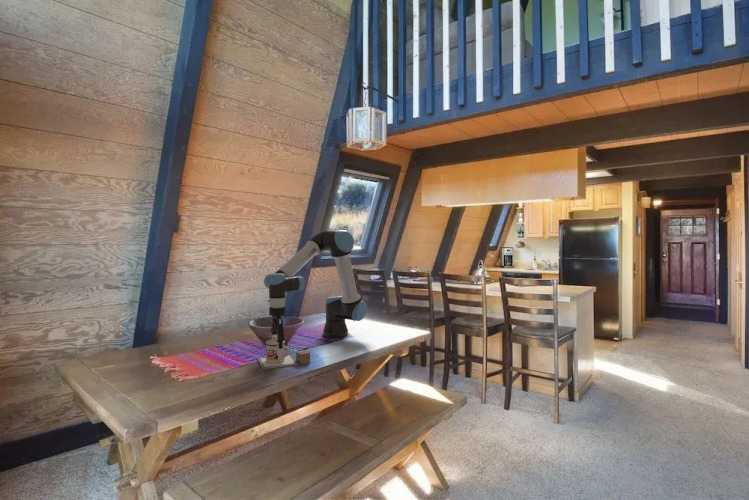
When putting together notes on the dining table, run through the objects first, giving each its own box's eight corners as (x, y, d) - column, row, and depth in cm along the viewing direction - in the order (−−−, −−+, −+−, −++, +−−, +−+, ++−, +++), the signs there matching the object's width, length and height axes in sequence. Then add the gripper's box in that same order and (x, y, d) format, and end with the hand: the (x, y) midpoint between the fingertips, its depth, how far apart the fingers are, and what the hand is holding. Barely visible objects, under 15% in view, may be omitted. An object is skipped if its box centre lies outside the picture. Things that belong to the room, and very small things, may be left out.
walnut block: (296, 362, 196) (296, 351, 196) (305, 360, 199) (305, 350, 199) (300, 364, 192) (300, 354, 192) (310, 363, 195) (310, 352, 195)
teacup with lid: (261, 362, 193) (261, 337, 193) (272, 357, 202) (272, 333, 201) (283, 365, 189) (283, 340, 188) (294, 359, 197) (294, 335, 197)
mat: (257, 359, 200) (257, 357, 200) (290, 355, 206) (290, 354, 206) (262, 369, 185) (262, 367, 185) (298, 364, 192) (298, 363, 192)
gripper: (265, 302, 204) (265, 345, 205) (273, 311, 182) (274, 359, 183) (280, 301, 207) (280, 344, 208) (290, 310, 185) (291, 357, 186)
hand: (277, 351), depth 195 cm, fingers open, 12 cm apart
